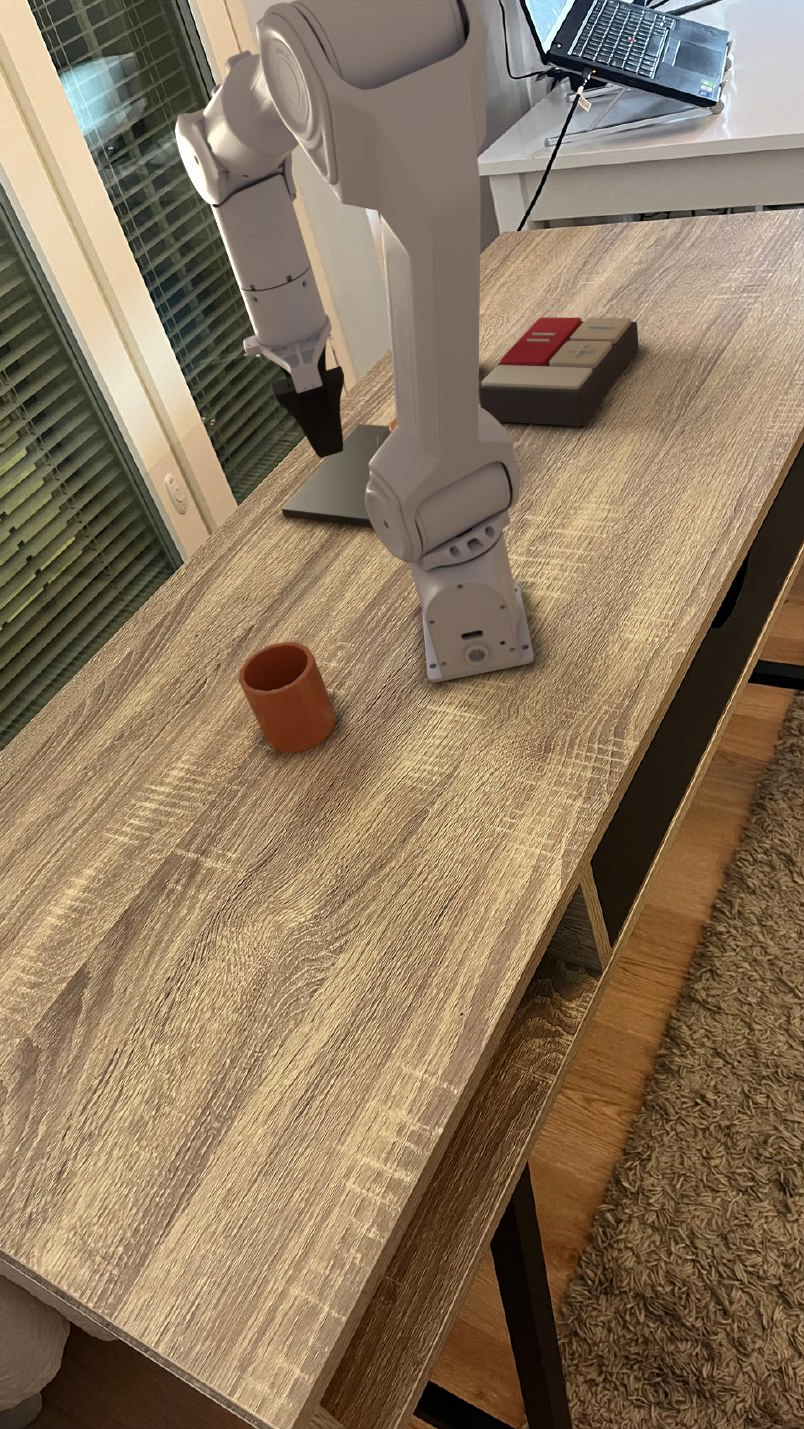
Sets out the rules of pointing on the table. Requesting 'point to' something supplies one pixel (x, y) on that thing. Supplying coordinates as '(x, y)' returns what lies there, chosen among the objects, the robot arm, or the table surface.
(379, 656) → the table surface
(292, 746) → the cup
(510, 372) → the calculator
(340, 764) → the table surface
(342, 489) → the scale
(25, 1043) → the table surface
